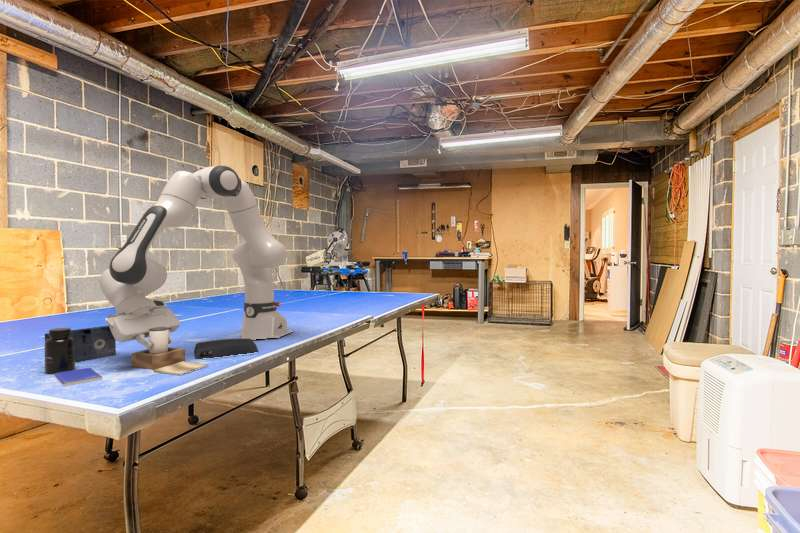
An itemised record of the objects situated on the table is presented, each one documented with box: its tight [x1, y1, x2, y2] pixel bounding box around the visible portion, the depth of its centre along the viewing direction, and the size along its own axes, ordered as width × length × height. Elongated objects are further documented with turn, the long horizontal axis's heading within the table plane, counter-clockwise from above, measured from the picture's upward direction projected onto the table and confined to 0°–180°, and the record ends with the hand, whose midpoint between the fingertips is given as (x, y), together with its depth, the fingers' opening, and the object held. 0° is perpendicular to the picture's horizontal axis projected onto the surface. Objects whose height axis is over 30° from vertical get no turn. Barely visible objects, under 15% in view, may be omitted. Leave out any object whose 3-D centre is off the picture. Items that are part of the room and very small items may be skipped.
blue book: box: [54, 367, 103, 387], centre depth 113 cm, size 2×8×12 cm
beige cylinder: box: [148, 327, 169, 354], centre depth 127 cm, size 5×5×11 cm
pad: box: [152, 361, 209, 375], centre depth 122 cm, size 10×10×1 cm
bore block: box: [131, 346, 186, 370], centre depth 127 cm, size 10×10×4 cm
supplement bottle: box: [44, 327, 76, 375], centre depth 119 cm, size 7×7×12 cm
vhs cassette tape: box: [44, 325, 117, 364], centre depth 131 cm, size 18×3×10 cm, turn 149°
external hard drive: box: [193, 338, 259, 360], centre depth 142 cm, size 13×19×4 cm
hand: (160, 345), depth 127 cm, fingers closed on beige cylinder, 5 cm apart
